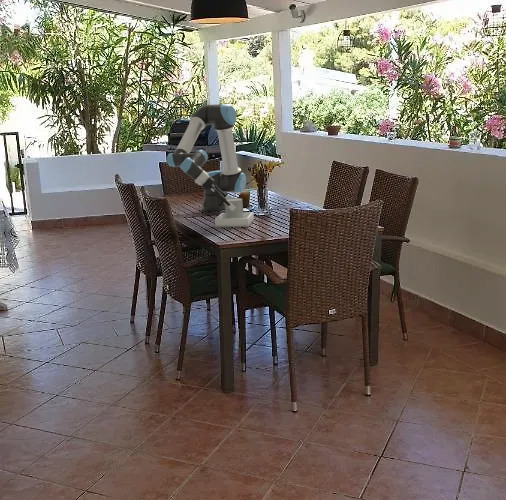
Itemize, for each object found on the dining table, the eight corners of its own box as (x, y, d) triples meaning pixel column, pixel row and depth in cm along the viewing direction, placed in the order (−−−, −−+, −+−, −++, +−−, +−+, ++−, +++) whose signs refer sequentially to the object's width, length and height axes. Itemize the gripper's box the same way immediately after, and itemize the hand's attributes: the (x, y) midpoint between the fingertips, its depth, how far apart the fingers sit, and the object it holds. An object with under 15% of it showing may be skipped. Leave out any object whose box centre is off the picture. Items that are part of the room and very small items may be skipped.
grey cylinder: (228, 224, 380) (227, 201, 377) (224, 221, 389) (222, 199, 386) (245, 222, 382) (244, 200, 379) (241, 219, 391) (239, 197, 388)
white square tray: (222, 220, 396) (221, 212, 395) (253, 220, 393) (253, 212, 392) (215, 227, 378) (215, 218, 377) (248, 226, 375) (248, 218, 374)
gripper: (201, 182, 392) (229, 208, 396) (199, 189, 368) (229, 216, 372) (210, 172, 391) (238, 198, 395) (208, 178, 367) (239, 205, 371)
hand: (234, 207), depth 383 cm, fingers open, 13 cm apart
